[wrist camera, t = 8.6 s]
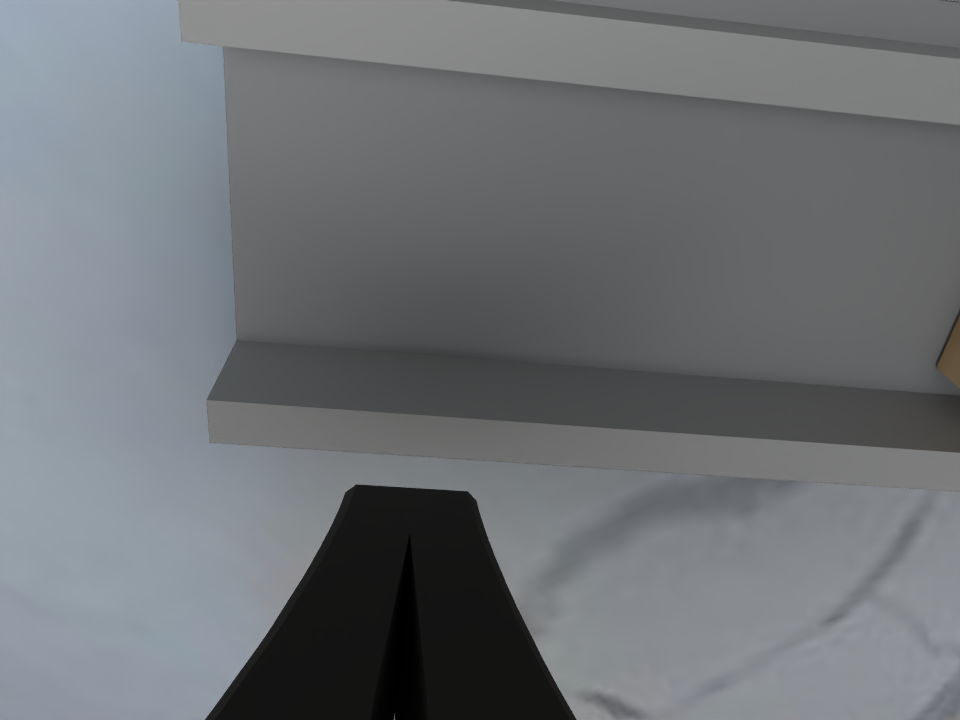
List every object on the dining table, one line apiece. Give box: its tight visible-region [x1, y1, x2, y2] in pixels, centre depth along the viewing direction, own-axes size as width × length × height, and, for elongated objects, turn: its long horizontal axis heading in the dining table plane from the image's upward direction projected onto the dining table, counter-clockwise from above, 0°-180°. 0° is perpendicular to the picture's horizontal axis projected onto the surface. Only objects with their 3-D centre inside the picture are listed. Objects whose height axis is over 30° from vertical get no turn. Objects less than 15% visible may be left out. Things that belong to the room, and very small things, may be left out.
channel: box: [178, 0, 960, 492], centre depth 16 cm, size 10×24×4 cm, turn 84°
